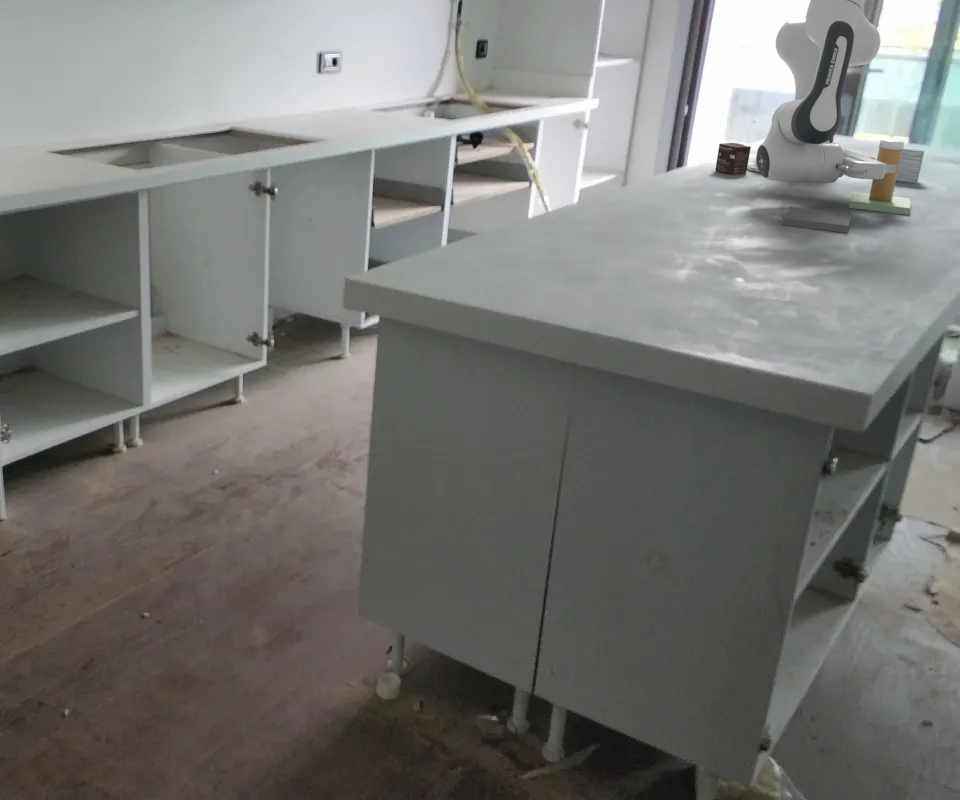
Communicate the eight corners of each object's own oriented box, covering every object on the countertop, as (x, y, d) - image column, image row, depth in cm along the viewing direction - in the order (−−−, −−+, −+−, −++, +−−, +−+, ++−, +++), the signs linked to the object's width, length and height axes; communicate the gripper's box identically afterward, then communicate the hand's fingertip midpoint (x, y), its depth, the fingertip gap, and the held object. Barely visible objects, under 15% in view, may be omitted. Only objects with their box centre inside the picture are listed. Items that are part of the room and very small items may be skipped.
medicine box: (917, 181, 261) (925, 148, 258) (917, 184, 258) (924, 151, 254) (886, 178, 264) (893, 145, 261) (885, 180, 261) (892, 147, 257)
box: (714, 171, 261) (718, 143, 258) (729, 169, 264) (733, 142, 261) (731, 175, 256) (736, 147, 254) (747, 173, 260) (751, 146, 257)
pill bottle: (872, 201, 225) (884, 142, 219) (865, 196, 229) (877, 138, 224) (895, 202, 224) (907, 143, 219) (887, 197, 229) (900, 139, 224)
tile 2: (848, 207, 224) (849, 201, 223) (851, 197, 235) (852, 191, 234) (908, 214, 220) (910, 208, 219) (908, 204, 231) (909, 198, 230)
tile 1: (782, 224, 204) (783, 217, 203) (788, 213, 215) (789, 206, 214) (847, 233, 200) (848, 225, 199) (850, 220, 211) (851, 214, 210)
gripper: (851, 156, 211) (910, 158, 213) (810, 142, 229) (865, 143, 231) (845, 185, 213) (904, 187, 215) (805, 169, 232) (860, 170, 234)
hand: (883, 164), depth 223 cm, fingers open, 8 cm apart
